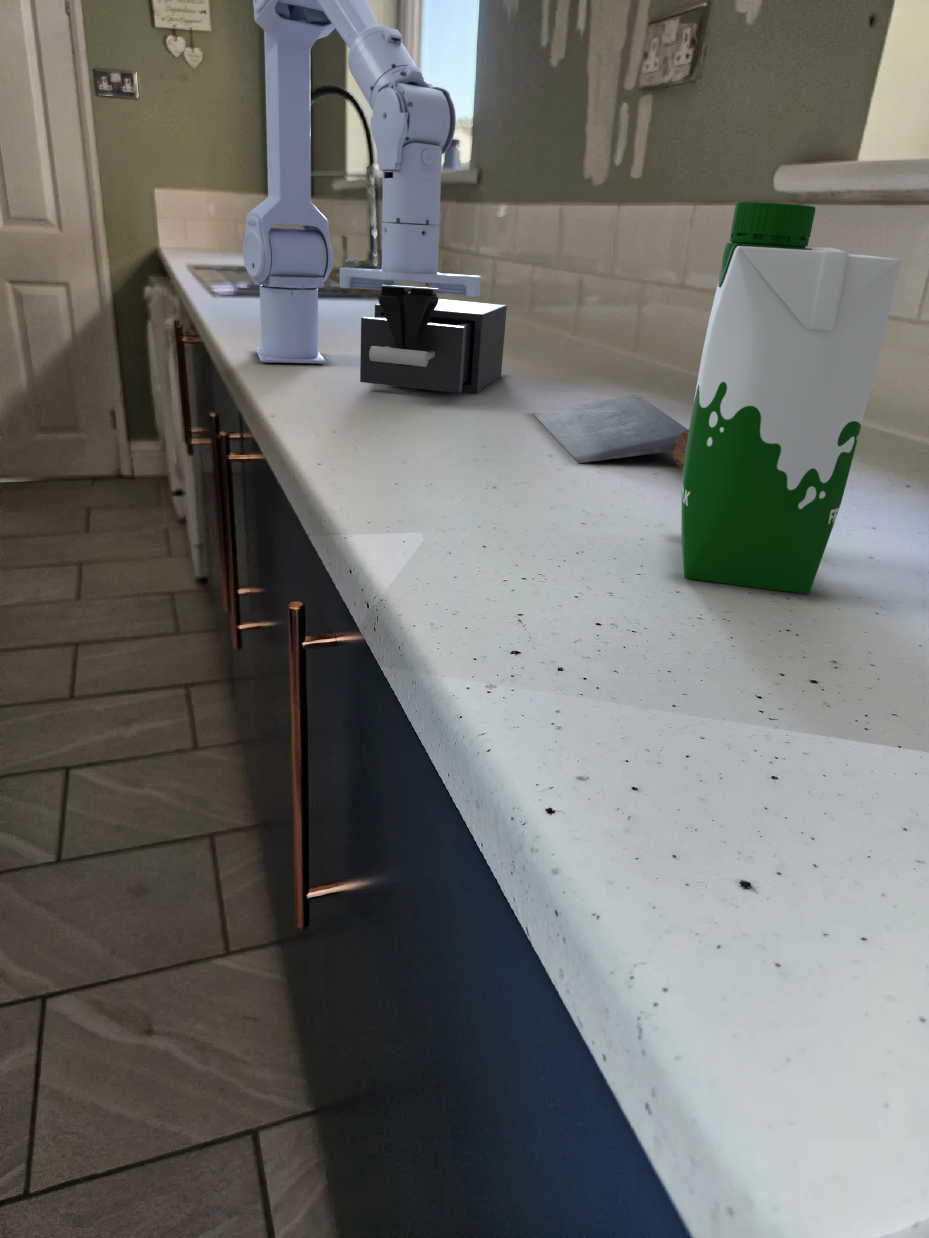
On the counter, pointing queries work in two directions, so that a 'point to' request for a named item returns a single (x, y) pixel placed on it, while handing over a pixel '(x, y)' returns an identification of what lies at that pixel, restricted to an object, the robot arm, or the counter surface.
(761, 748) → the counter surface
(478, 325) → the small drawer unit
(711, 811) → the counter surface
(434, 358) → the dark drawer box
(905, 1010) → the counter surface
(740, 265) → the milk carton
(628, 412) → the meat cleaver
